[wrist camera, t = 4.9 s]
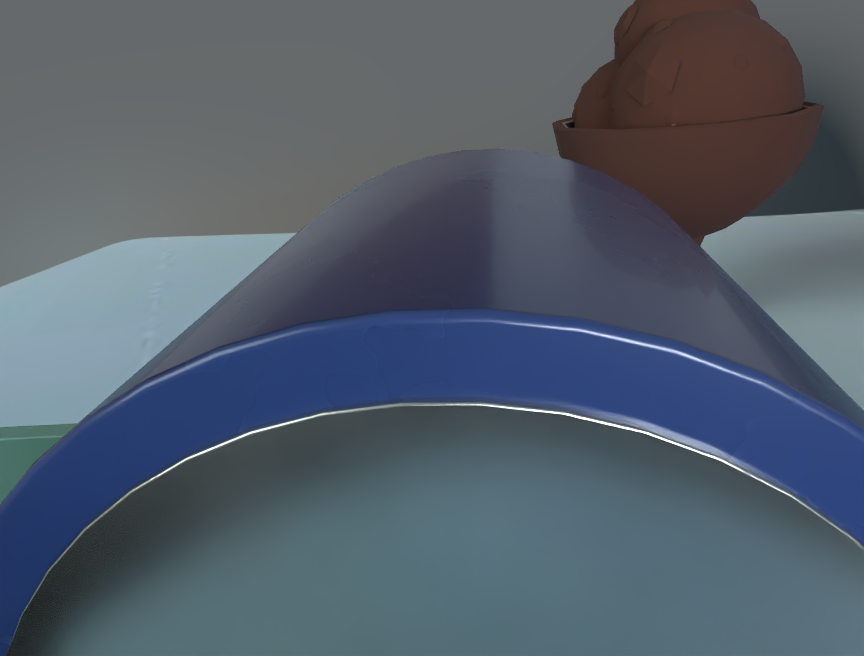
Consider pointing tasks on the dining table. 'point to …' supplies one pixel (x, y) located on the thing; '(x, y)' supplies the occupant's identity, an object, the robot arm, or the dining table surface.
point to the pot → (457, 449)
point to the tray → (24, 450)
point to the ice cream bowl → (695, 111)
